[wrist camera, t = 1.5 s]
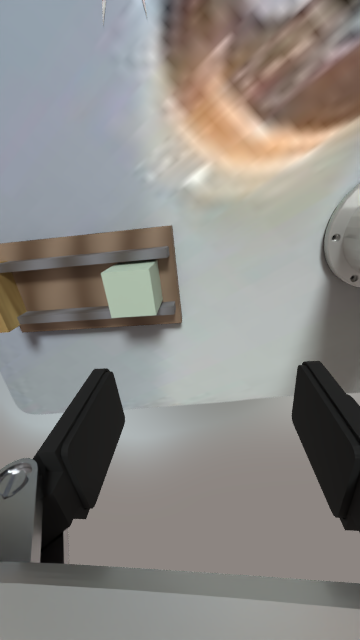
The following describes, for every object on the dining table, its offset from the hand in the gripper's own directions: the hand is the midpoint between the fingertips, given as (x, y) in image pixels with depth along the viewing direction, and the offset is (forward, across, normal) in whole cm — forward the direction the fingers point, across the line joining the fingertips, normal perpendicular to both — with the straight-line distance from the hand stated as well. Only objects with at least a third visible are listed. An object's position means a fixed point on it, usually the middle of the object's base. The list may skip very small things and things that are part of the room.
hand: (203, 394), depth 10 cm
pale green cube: (+20, +8, 0) cm, 21 cm away
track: (+22, +15, 0) cm, 26 cm away
